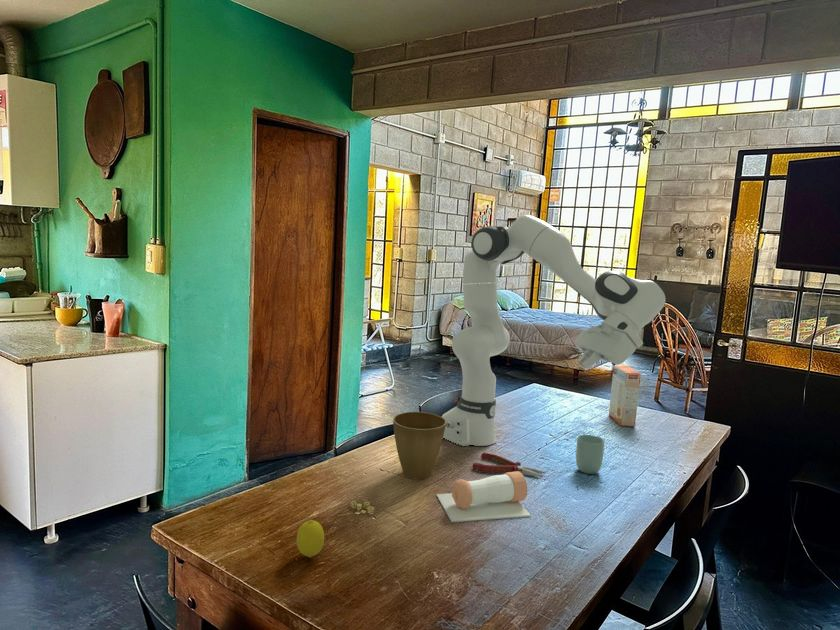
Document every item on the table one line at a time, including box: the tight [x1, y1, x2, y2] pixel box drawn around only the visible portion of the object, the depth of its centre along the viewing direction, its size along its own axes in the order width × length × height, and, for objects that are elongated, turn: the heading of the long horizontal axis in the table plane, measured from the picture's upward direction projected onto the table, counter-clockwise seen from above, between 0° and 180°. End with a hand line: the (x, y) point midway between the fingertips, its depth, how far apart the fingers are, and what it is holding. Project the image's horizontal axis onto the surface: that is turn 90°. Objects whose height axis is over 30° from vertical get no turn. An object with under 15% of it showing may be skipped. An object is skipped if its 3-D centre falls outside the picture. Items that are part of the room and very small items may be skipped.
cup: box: [575, 434, 605, 475], centre depth 164 cm, size 8×8×10 cm
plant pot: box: [392, 411, 446, 480], centre depth 156 cm, size 15×15×16 cm
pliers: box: [471, 452, 546, 478], centre depth 163 cm, size 12×20×3 cm, turn 67°
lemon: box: [296, 519, 325, 559], centre depth 112 cm, size 6×6×8 cm
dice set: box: [350, 500, 375, 516], centre depth 134 cm, size 5×5×2 cm
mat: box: [435, 492, 531, 523], centre depth 139 cm, size 20×14×1 cm
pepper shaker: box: [451, 471, 528, 509], centre depth 139 cm, size 7×7×19 cm
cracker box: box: [608, 364, 641, 427], centre depth 215 cm, size 14×6×21 cm, turn 179°
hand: (582, 365), depth 149 cm, fingers closed
